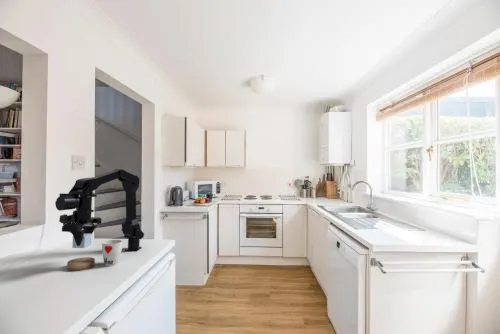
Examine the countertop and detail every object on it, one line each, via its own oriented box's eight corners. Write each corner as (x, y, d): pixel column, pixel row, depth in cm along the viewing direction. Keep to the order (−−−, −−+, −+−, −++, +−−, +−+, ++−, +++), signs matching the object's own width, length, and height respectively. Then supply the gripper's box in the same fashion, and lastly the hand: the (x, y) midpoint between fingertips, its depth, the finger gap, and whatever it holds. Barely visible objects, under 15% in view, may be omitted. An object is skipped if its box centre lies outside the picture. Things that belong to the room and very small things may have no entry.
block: (79, 244, 116) (80, 233, 116) (91, 244, 116) (91, 233, 116) (72, 247, 111) (72, 235, 111) (84, 248, 111) (84, 236, 111)
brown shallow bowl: (76, 262, 118) (77, 256, 118) (99, 263, 118) (99, 257, 118) (61, 270, 108) (61, 264, 108) (85, 271, 108) (85, 265, 108)
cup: (97, 265, 116) (98, 242, 116) (114, 260, 123) (115, 238, 123) (108, 268, 112) (109, 245, 112) (125, 263, 119) (126, 241, 119)
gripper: (78, 204, 123) (77, 238, 123) (49, 210, 104) (47, 249, 104) (102, 205, 123) (101, 238, 123) (77, 211, 105) (75, 250, 104)
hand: (82, 243), depth 114 cm, fingers closed on block, 5 cm apart
